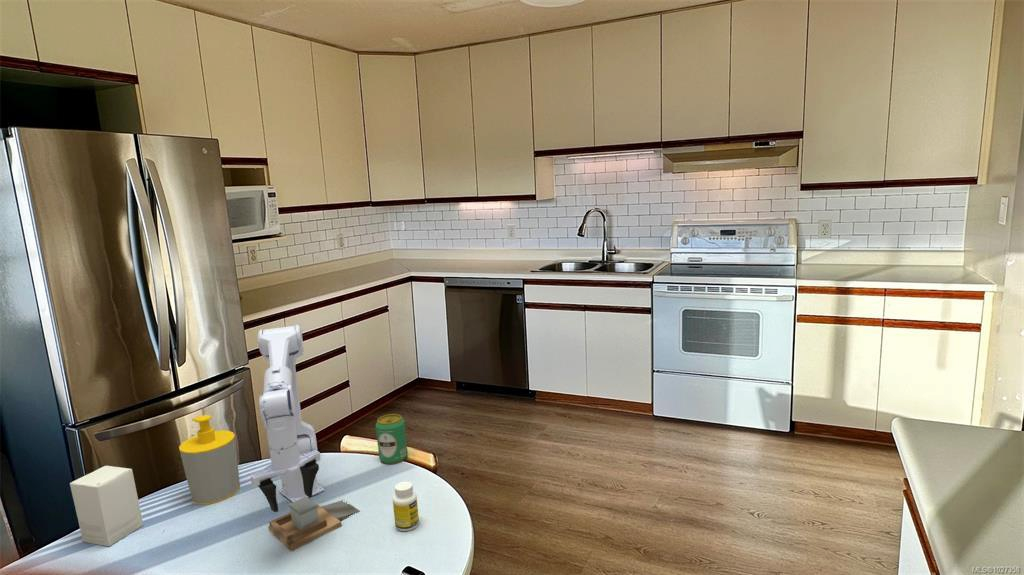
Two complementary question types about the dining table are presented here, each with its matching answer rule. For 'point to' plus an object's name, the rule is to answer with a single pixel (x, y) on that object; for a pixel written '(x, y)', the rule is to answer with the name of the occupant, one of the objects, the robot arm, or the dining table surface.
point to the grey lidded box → (303, 513)
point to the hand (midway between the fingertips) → (291, 502)
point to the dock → (326, 523)
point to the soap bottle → (210, 463)
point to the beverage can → (391, 438)
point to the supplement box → (106, 505)
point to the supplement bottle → (405, 507)
